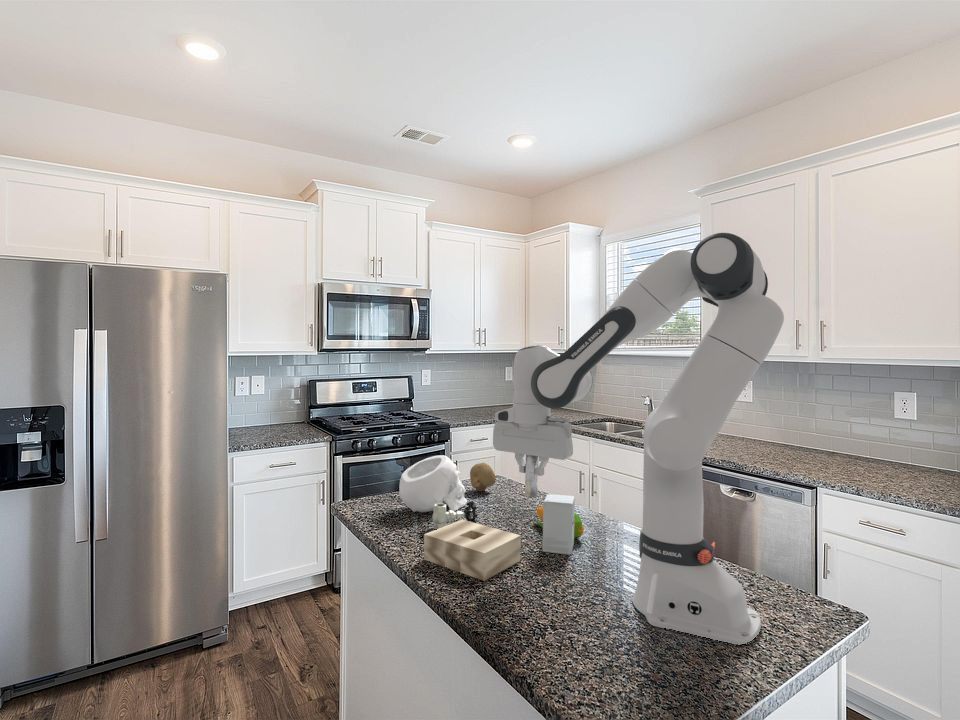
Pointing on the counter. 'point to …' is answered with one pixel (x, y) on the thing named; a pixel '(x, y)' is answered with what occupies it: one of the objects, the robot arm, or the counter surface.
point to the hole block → (472, 549)
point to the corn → (577, 523)
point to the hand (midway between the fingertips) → (531, 473)
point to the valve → (451, 514)
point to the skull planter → (432, 485)
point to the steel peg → (531, 476)
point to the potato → (482, 476)
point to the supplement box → (558, 524)
